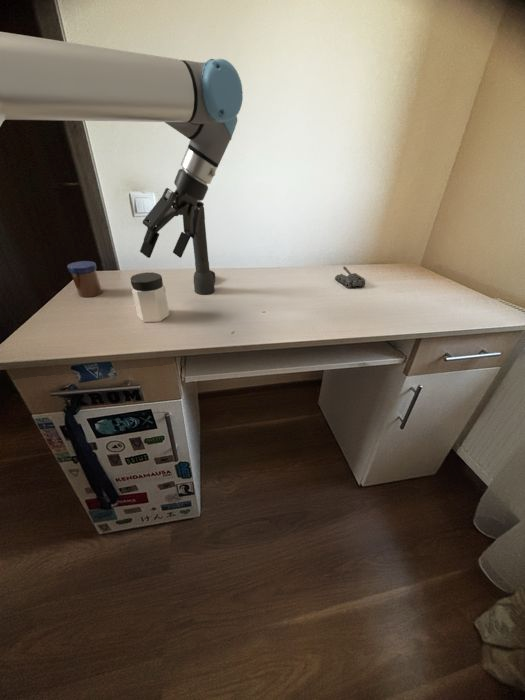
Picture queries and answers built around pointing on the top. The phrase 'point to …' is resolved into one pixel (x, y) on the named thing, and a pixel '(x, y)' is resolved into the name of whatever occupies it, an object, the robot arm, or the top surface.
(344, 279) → the tank toy
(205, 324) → the top surface
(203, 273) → the flashlight
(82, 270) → the lid
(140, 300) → the jar
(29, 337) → the top surface
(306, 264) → the top surface
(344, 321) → the top surface
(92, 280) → the jam jar
